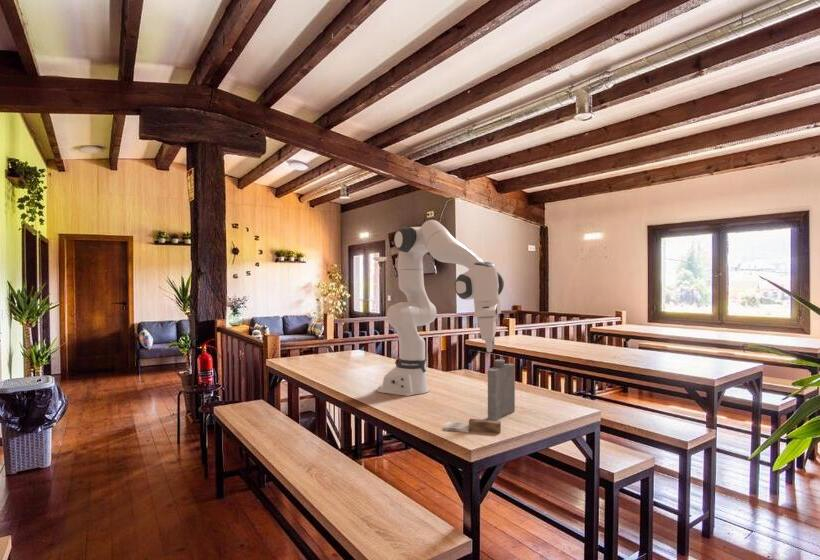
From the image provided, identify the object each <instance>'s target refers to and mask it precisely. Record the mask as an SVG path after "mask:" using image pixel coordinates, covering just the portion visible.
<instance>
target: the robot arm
mask: <svg viewBox="0 0 820 560" xmlns="http://www.w3.org/2000/svg"><path fill="white" fill-rule="evenodd" d="M393 241H394V246H395V248H396V250H398V258H397V276H398V277H397V279H398V288H399V290H400V291H401V292H402V293H403V294H404V295H405V297H406V300H407V301H403V302H402V301H401V302H400V301H399V302H398V303H394V304H392V305H390V306H389V307H388V309H387V311H386V320H387V322H388V323H389V324H390V326H391V327H392V328H393V329H394V330H395V332H396V334H397V337H398V342H399V357H397V359H395V361H394V363H395V367H393V368H392V369H391V370H389V372H387V373H385V375H384V376H383V380H382V384H381V385H379V386H378V387H377V392H378V393H382V394H383V393H384V394H390V395H391V394H392V395H398V396H406V397H407V396H414V395H421V394H426V393H428V392H429V391H430V388H429V385H428V381H427V380H428V379H427V372H426V371H427V358H426V341H425V338H423V337H422V336H421V335H420V334H419V331H418V327H422V326H426V325H427V326H428V325H429V324H431V323H433V322H434V321H435V320H436V318H437V315H438V314H437V312H438V311H437V307H436V306H435V304H434V303H432V302H431V300H430V299H429V297H428V294H427V291H426V289H425V280H424V279H425V278H424V263H423V261H424V259H423V258H424V256H425V255H427V256H431V257H432V258H433V259H435V260H436V261H437V262H440V263H446V264H456V265H460V266H463V267H466V268H467V269H468V270H467V271H465V272H464V273H461V274H459V275H458V276H457V277H456V279H455V282H454V290H455V293H456V295H457V296H458V297H459V298H460V299H461V300H466V301H468V300H473V303H474V304H473V305H474V315H475V318H477V320H478V328H479V333H480V338H481V340H482V341H484V344H485V347H486V352H487V353H492V352H493V348H494V347H495V336H496V333H497V330H498V327H497V319H499V316H498V315H499V314H501V313H502V309H501V299H500V298H501V297H500V295H501V293H502V292H503V289H504V286H505V282H504V279H503V277H502V275H501V274H500V273H499V271H498V270H497V267H496V264H494V263H493V262H488V261H484V260H483V259H482V258H481V257H479V256H478V255H477V254H476V253H475V252H474V251H473V250H472V249H471V248H470V247H468V246H467V245H465V244H463V243H462V242H460V241H459V240H458V239H456V238H455V237H454V236H453V235H452V234H451V233H450V232H449V230H448V229H447V228H446V227H445V226H444V225H443V224H442V223H441V222H439V221H437V220H435V219H430V220H426V221H425V222H424V223H422V224H421V226H410V227H409V226H403V227H399V228H398V229H397V230H396V231H395V233H394V236H393Z"/></svg>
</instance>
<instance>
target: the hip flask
mask: <svg viewBox="0 0 820 560" xmlns="http://www.w3.org/2000/svg"><path fill="white" fill-rule="evenodd" d="M505 362H506V360H505V359H495V360H494V364H495V366H493V367H491V368H488V369H487V420H491V421H499V420H500V419H501V418H503V417H504V416H507V415H509V414H512V413H515V412H516V405H515V404H516V400H515V399H516V396H515V395H516V394H515V393H516V389H515V387H516V385H515V384H516V381H515V380H516V379H515V378H516V377H515V373H516V372H515V371H516V370H515V366H516V365H515V363H505Z"/></svg>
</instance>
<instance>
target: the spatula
mask: <svg viewBox="0 0 820 560" xmlns="http://www.w3.org/2000/svg"><path fill="white" fill-rule="evenodd" d="M501 422H502V421H500V420H496V421H491V420H488V419H479V418H478V419H477V418H476V419H475V418H469V420H468V423H467V422H455V421H447V422H446V423H445V425H444V426H443V431H447V430H451V431H450V432H458V431H460V432H461V433H469V432H471V431H472V432H478V433H479V432H481V433H491V434H492V433H493V434H501V432H502V431H501V430H502V429H501V428H502V426H501V425H502V423H501ZM460 432H459V433H460Z"/></svg>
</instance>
